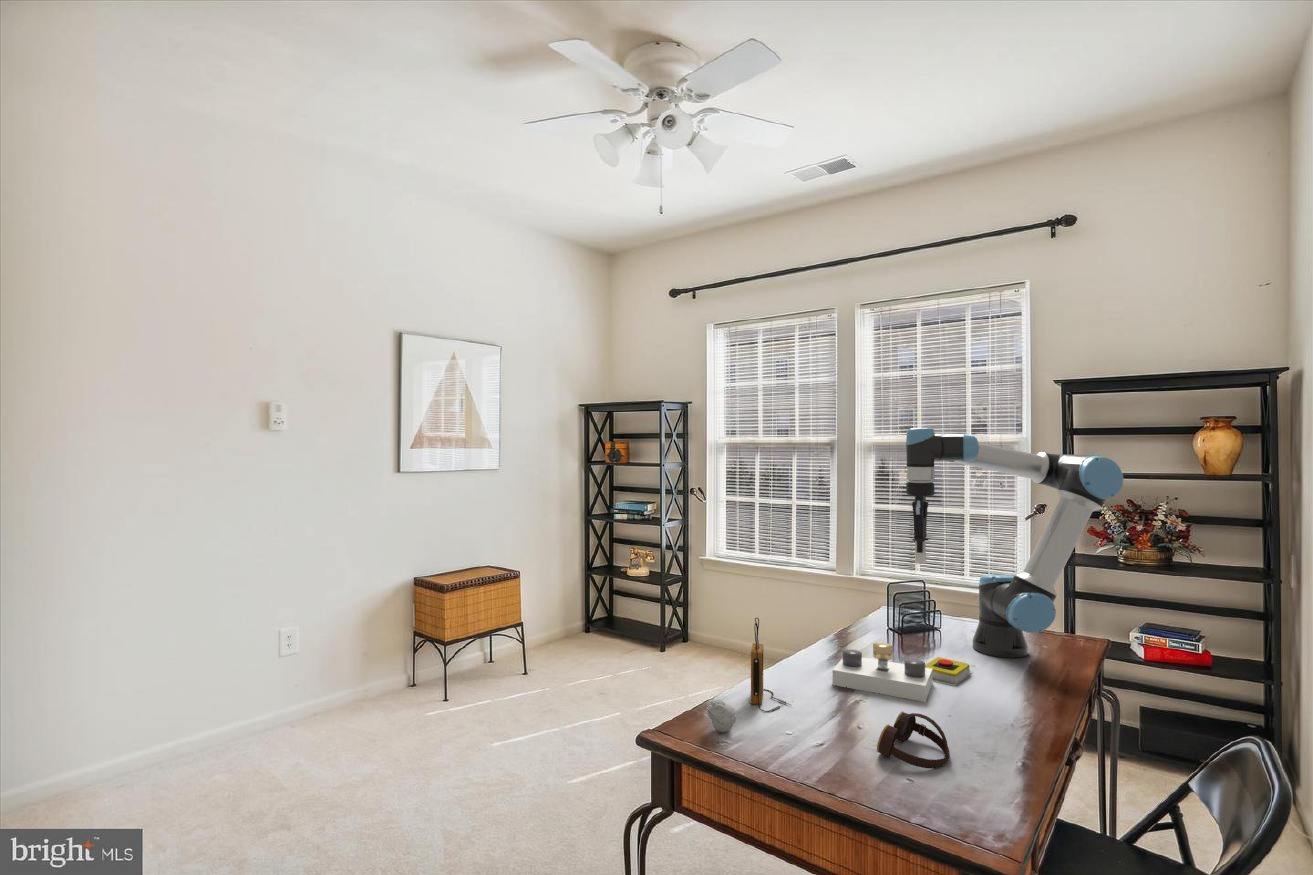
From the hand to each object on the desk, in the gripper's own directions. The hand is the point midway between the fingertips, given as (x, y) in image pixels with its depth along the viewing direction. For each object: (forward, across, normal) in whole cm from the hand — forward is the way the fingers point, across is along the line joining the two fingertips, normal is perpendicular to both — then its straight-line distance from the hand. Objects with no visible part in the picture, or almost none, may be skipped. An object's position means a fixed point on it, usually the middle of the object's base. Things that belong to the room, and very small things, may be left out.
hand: (920, 563), depth 196 cm
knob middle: (+26, +22, -7) cm, 34 cm away
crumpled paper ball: (+29, +68, -34) cm, 81 cm away
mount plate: (+29, +22, -7) cm, 37 cm away
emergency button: (+30, +6, +7) cm, 31 cm away
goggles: (+29, +59, +6) cm, 66 cm away
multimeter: (+29, +46, -29) cm, 62 cm away
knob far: (+29, +21, -15) cm, 39 cm away
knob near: (+29, +22, +1) cm, 36 cm away
